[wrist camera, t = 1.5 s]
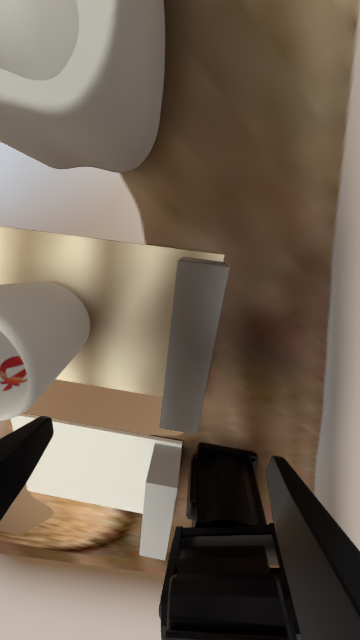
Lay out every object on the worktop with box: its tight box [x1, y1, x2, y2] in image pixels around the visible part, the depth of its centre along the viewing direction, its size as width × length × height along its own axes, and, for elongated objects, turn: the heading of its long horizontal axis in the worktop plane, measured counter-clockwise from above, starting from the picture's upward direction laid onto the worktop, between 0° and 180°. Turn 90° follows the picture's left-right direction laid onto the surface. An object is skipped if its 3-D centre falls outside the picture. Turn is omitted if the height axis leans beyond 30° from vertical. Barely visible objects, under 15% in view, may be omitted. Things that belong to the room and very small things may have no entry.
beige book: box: [0, 226, 230, 434], centre depth 16 cm, size 20×14×4 cm
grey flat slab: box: [11, 413, 183, 560], centre depth 24 cm, size 20×14×4 cm
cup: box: [0, 282, 90, 421], centre depth 15 cm, size 11×8×8 cm
